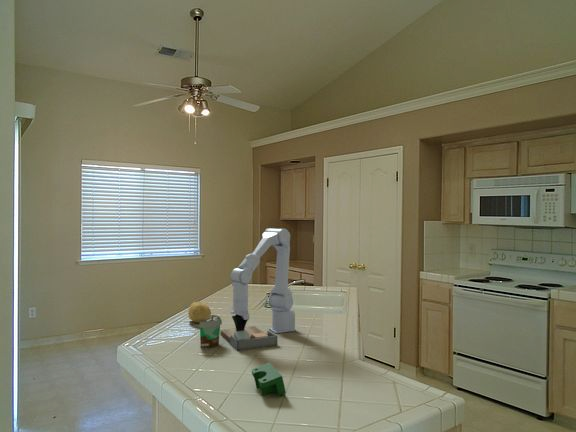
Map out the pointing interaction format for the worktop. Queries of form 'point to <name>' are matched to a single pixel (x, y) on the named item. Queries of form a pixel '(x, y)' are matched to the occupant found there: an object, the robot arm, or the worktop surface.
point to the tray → (254, 342)
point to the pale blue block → (241, 335)
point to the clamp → (268, 379)
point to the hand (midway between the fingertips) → (240, 334)
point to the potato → (199, 312)
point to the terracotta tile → (258, 335)
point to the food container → (210, 332)
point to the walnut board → (228, 332)
